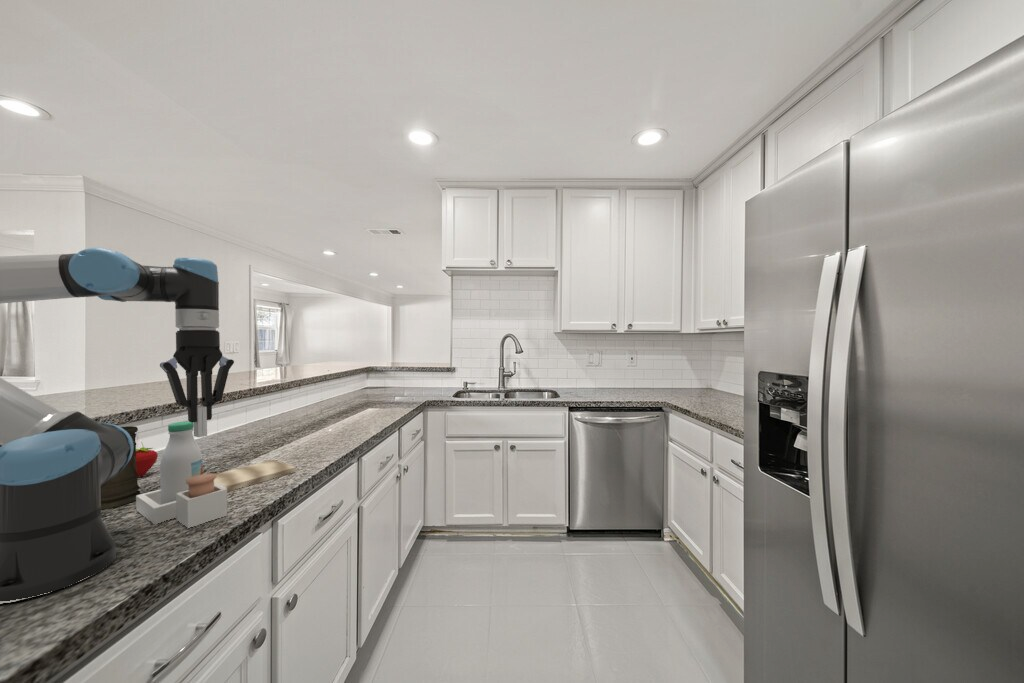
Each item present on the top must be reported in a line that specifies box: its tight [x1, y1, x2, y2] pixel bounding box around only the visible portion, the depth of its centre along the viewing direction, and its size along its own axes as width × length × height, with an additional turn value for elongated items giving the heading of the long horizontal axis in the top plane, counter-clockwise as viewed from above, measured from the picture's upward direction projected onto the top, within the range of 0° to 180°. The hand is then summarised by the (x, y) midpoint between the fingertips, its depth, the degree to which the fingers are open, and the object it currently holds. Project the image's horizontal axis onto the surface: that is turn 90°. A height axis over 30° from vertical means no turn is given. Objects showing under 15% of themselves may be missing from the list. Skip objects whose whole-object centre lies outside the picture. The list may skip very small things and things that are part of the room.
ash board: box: [214, 459, 297, 493], centre depth 112 cm, size 18×14×2 cm
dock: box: [135, 482, 228, 529], centre depth 90 cm, size 13×22×6 cm, turn 56°
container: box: [100, 425, 142, 510], centre depth 95 cm, size 9×9×18 cm
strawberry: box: [136, 441, 159, 478], centre depth 114 cm, size 6×8×10 cm
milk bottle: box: [159, 421, 204, 505], centre depth 92 cm, size 8×8×20 cm
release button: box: [186, 472, 217, 498], centre depth 86 cm, size 5×5×6 cm
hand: (200, 435), depth 86 cm, fingers closed
